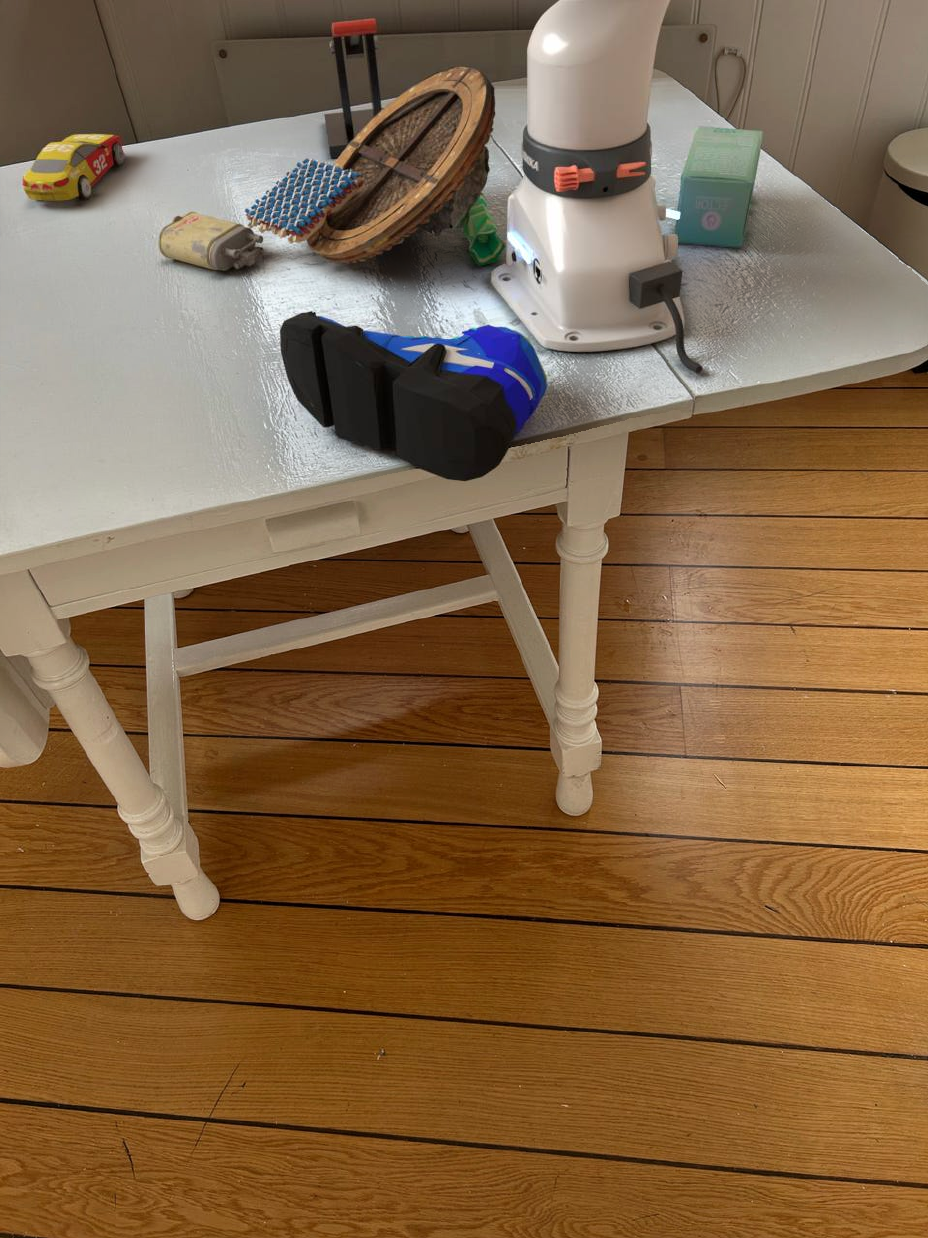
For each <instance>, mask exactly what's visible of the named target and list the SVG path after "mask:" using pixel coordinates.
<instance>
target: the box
mask: <svg viewBox="0 0 928 1238" xmlns="http://www.w3.org/2000/svg"><path fill="white" fill-rule="evenodd" d="M763 137H764V136H763V131H762V130H755V129H742V128H741V129H739V128H727V127H714V126H698V127H697V128H696V130H695V132H694V136H693V139H692V142H691V146H690V149H689V151H688V154H687V158H686V161H685V164H684V166H683V167H684V168H683V170H682V173H681V174H680V175H681V176H680V189H679V196H678V202H677V203H678V204H677V210H676V211H677V212H680V218H679V219H675V227H674V234H675V235H677V236H678V244H683V245H693V246H695V245H696V246H710V247H718V248H719V247H721V248H730V249H741V248H742V246H743V244H744V240H745V235H746V230H747V224H748V220H749V214H750V209H751V204H752V200H753V195H754V194H753V193H754V188H755V182H756V177H757V171H758V166H759V161H760V155H761V150H762V149H761V148H762V144H763Z"/></svg>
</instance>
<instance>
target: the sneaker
mask: <svg viewBox="0 0 928 1238" xmlns="http://www.w3.org/2000/svg"><path fill="white" fill-rule="evenodd" d="M461 334H462V335H461V336H459V335H458V336H455V337H453V338H441V337H439V336H436V335H435V336H434V337H429V336H426V335H419V337H418V336H414V335H406V336H402V335H399V334H391V333H385V332H377V331H371V330H364V328H362V327H360V326H358V325H349V326H345V325H343V324H341V323H340V322H337V321H335V320H333V319H331V318H328V317H325V316H323V315H322V316H321V315H320V316H319V315H317V313H316V311H313V310H310V311H305V312H300V313H299V314H296V315H294V316H292V317H289V318H287V319H285V320H283V322H282V324H281V326H280V329H279V341H280V342H279V343H280V354H281V358H282V362H283V366H284V370H285V374H286V377H287V380H288V383H289V385H290V388H291V390H292V392H293V394H294V396H295V398H296V400H297V402H298V403H299V404H300V405H301V406H302V407H303V408H304V409H305V410H306V411H307V412H308V413H309V414H310V415H311V417H312V418H314V420H316V422H318V423H319V424H320V425H321V426H322V428H330V427H333V426H334V427H333V428H334V433H335V435H336V436H337V438H338V439H341V440H344V441H347V442H350V443H354V444H357V445H361V446H364V447H367V448H370V449H373V450H377V451H381V450H384V449H386V448H389V447H393V448H396V456H397V457H398V458H399V459H401V460H403V461H404V462H406V463H409V464H410V465H412V466H413V467H415V468H417V469H419V470H422V471H424V472H427V473H429V474H433V475H435V476H437V477H440V478H442V479H445V480H450V481H458V482H468V481H472V480H476V479H479V478H483V477H484V476H486V475H487V474H489V473H491V472H492V471H493V470H495V469H496V468H498V467H499V465H501V463H502V461H503V460H504V458H505V457H506V455H507V453H508V452H509V449H510V448H511V444H512V442H513V441H514V440H515V438H516V437H517V436H518V434H520V433H521V431H522V430H523V428H524V427H525V426H526V425H527V424H528V422H529V420H530V418H531V417H532V415H533V414H534V413H535V412H536V410H537V409H538V406H539V404H540V402H541V401H542V400H543V398H544V397H545V396H546V392H547V390H548V376H547V374H546V372H545V369H544V367H543V365H542V363H541V361H540V358H539V356H538V353H537V352H536V349H535V347H534V346H533V345H532V343H531V341H530V339H529V338H528V337H526V336H525V335H523V334H522V333H521V332H519V331H518V330H517V329H511V328H509V327H507V326H494V325H490V324H486V325H483V326H479V327H470V328H469V329H467V330H464V331H461Z"/></svg>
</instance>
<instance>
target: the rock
mask: <svg viewBox="0 0 928 1238" xmlns="http://www.w3.org/2000/svg"><path fill="white" fill-rule="evenodd" d="M483 150H484V151H483V153H482V155H481V156H480V157H479V158H478V159H476V160H475V161H474V162H475V168H474V169H473V170H472V171H471V172H470V173H469V174H468V175H466V176H465V177H464V179H463V180H464V181H465V182H464V183H463V185H462V186H461V187H460V188H459V189H457V190H454V191H453V192H454V195H453V196H452V198H451V199H450V200H448V201H447V202H443V204H444V205H443V207H442V209H439V210H438V211H437V212H436V213H431V214H429V218H430V221H428V222H427V223H424V224H420V225H419V226H420V227H419V228H421V230H423V231H425V233H427V234H429V235H431V236H433V237H434V238H439V237H440V236H441V235H442V233H443V231H445V230H454V229H455V228H457V226H458V225H459V224H461V223H460V221H461V219H462V218H465V216H466V214H467V213H468V212H469V210H470V209H471V206H472V205H473V204H474V203H475V202H477V200H478V199H479V198H480V196H481V192H482V193H483V191H484V188H485V187H486V184H487V182H488V176H489V172H490V171H491V169H490V168H491V167H490V165H489V161H490V154H489V153H490V151H489V148H488V146H486V145H485V146H484V148H483Z"/></svg>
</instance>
